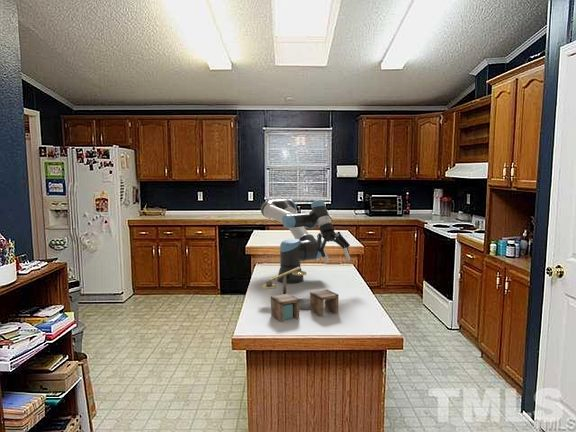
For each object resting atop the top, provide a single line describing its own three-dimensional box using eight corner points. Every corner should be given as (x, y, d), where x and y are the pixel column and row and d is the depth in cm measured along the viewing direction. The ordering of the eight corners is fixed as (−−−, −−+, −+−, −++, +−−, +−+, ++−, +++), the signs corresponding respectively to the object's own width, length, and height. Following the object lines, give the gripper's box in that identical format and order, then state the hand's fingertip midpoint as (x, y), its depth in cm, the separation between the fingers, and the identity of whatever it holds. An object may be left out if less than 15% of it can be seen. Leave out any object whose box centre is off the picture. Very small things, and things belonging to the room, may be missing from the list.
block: (277, 316, 173) (277, 302, 172) (287, 314, 175) (287, 300, 174) (282, 319, 168) (282, 306, 168) (292, 317, 171) (292, 304, 170)
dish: (287, 303, 189) (287, 301, 189) (309, 299, 194) (309, 297, 194) (299, 311, 178) (299, 308, 178) (322, 306, 184) (322, 304, 184)
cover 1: (271, 315, 174) (270, 296, 173) (289, 311, 178) (289, 293, 177) (280, 322, 166) (280, 302, 165) (299, 318, 170) (299, 298, 169)
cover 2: (310, 310, 179) (310, 292, 178) (327, 307, 183) (327, 289, 182) (321, 316, 171) (321, 297, 170) (338, 313, 175) (338, 294, 174)
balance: (259, 301, 192) (258, 270, 190) (301, 294, 203) (301, 264, 201) (266, 306, 185) (265, 273, 183) (309, 298, 196) (309, 267, 194)
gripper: (308, 223, 210) (321, 260, 201) (347, 221, 222) (360, 255, 213) (303, 230, 216) (314, 266, 207) (340, 227, 228) (353, 261, 219)
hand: (338, 260), depth 210 cm, fingers open, 13 cm apart
